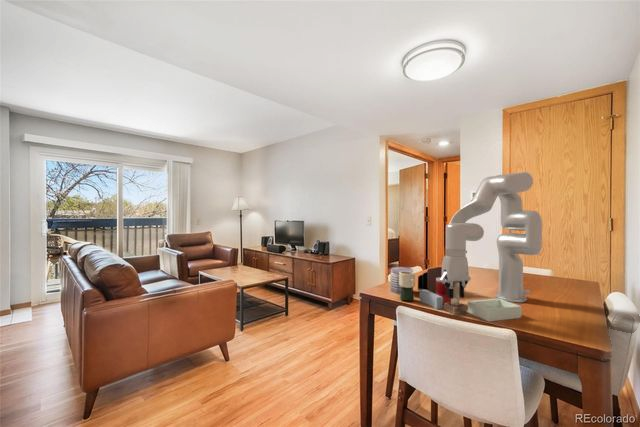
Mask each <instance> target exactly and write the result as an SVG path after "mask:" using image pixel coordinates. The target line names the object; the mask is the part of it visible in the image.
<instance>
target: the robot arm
mask: <svg viewBox="0 0 640 427" xmlns="http://www.w3.org/2000/svg"><path fill="white" fill-rule="evenodd" d="M533 184H534V179H533V176H532V175H531V173H530V172H526V171H522V172H515V173H514V172H512V173H505V174H498V175H492V176H491V175H490V176H487V177H485V178H483V179H482V180H481V182H480V183H479V185H478V188H477V189H476V191H475V193H474V195H473V197H472V198H471V201H470V202H468V203H466V204H465V205H464V206H462V207H461V208H460V209H458V210H457V211H456V212H455V213H454V214H453V215H452V218H451V219H450V221H449V223H448V224H446V226H445V256H443V258H442V264H441V267H442V273H441V279H440V282H442V283H443V284H444V285H445V287H447V297H449V298H451V299H453V289H452V286H453V282H454V281H459V298H463V299H464V298H465V288H467V287H466V286H467V285H468V283H469V282H470V281H471V280H472V279H471V278H472V277H470V275H469V262H468V257H467V254H468V250H467V241H469V242H478V241H480V240H481V239H482V238H483V237H484V233H485V232H484V231H485V230H484V227H483V226H482V225H480V224H478V223H474V222H468V221H469V220H471V219H473V218H474V217H478V216H481V215H484V214H486V213H489V212H490V211H491V210H492V208H493V206H494V204H495V202H496V200H497V198H499V201H500V225H501V228H502V229H504V230H507V231H519V233H518V232H517V233H516V232H504V233H501V234H499V235H498V236H497V237H496V247H497V252H498V292H496V293H494V297H495V298H496V299H502V300H505V301H508V302H511V303H525V302H527V300H528V298H527V297H526V296H525V295H530V292H531V291H530V290H529V289H524V262H523V260H522V258H521V256H520V255H524V256H525V255H526V256H538V255H539V254H540V253H541V252H542V248H543V219H542V216H541V214H540V213H539V212H538V211H535V210H530V209H529V210H526V209H525V210H523V199H522V197H521V196H520V195H519V193H524V192H527V191H529V190H530V189H531V188H532V187H533ZM520 231H521V232H522V231H523V232H525V233H520ZM445 279H446V281H445ZM449 282H450V284H449Z"/></svg>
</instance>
